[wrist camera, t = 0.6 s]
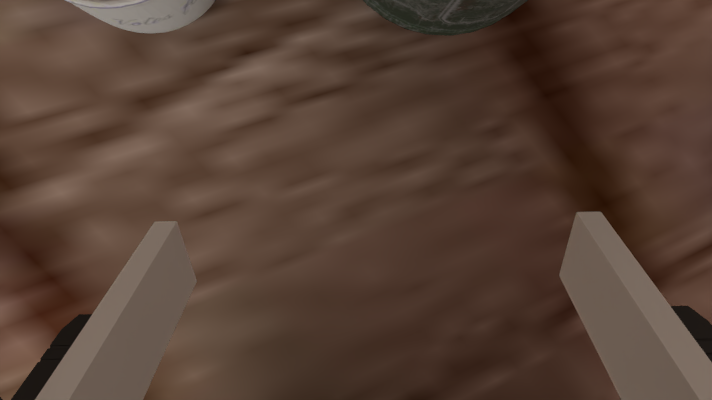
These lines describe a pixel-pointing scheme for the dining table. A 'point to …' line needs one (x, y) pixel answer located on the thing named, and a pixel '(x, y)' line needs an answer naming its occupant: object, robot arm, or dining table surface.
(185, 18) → the teacup
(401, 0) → the canister
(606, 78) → the dining table surface
